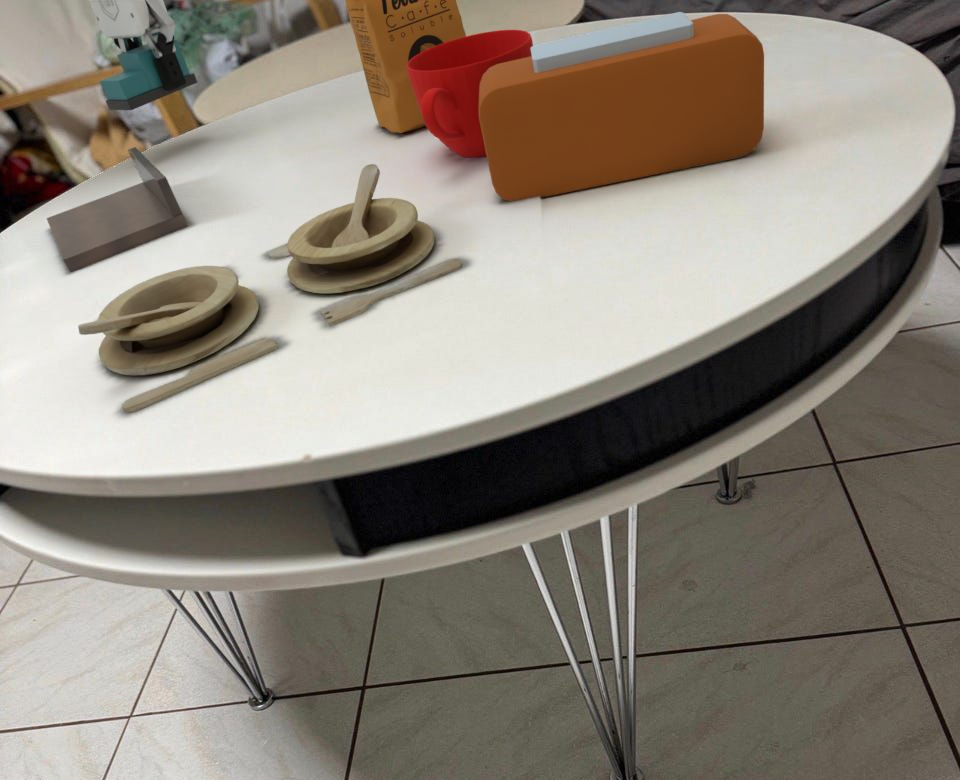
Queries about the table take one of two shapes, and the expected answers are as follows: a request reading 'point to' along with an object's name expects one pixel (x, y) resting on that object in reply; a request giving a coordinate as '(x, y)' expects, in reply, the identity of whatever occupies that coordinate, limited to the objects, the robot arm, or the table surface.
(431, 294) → the table surface
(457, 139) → the ceramic cup
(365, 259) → the tableware set
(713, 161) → the alarm clock
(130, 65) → the teal l-shaped block
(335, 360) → the table surface
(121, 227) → the brown l-shaped piece
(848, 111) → the table surface
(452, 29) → the coffee package
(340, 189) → the table surface
